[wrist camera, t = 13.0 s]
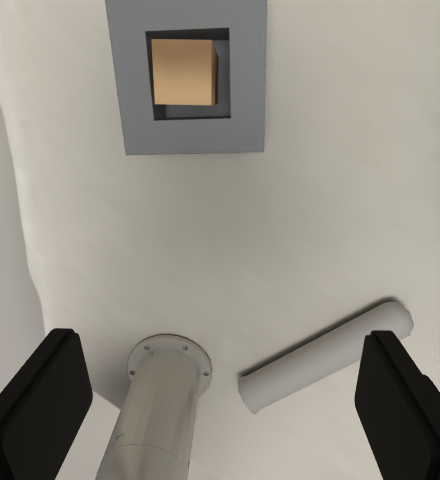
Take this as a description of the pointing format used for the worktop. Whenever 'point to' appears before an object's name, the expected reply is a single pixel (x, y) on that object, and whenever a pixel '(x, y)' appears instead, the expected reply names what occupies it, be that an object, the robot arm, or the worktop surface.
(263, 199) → the worktop surface
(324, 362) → the tube
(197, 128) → the socket
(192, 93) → the peg
